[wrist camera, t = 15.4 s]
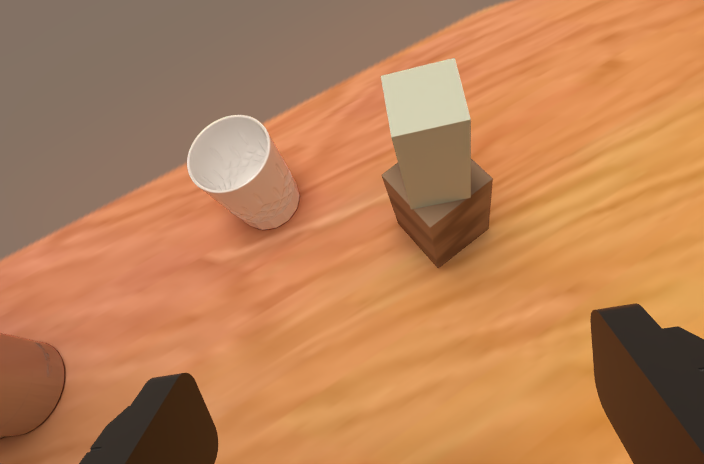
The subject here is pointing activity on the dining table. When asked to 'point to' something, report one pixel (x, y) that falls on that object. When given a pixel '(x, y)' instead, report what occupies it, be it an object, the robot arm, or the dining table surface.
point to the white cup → (244, 171)
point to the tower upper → (441, 206)
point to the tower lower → (449, 246)
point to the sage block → (430, 132)
